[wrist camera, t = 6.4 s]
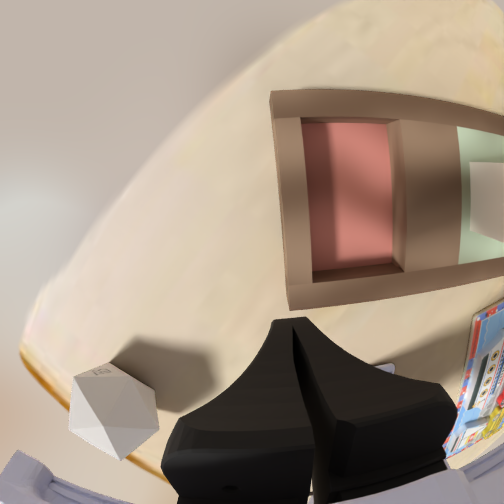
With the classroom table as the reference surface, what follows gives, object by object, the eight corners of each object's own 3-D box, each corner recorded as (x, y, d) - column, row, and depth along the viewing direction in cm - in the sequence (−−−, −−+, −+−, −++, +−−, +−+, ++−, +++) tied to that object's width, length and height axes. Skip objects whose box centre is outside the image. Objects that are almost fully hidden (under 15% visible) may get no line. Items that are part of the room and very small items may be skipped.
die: (138, 335, 22) (40, 371, 15) (195, 419, 20) (96, 473, 12) (126, 367, 27) (51, 396, 20) (169, 432, 24) (95, 472, 17)
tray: (528, 258, 19) (543, 264, 16) (286, 295, 20) (289, 310, 18) (529, 132, 15) (544, 131, 13) (269, 101, 17) (270, 91, 14)
